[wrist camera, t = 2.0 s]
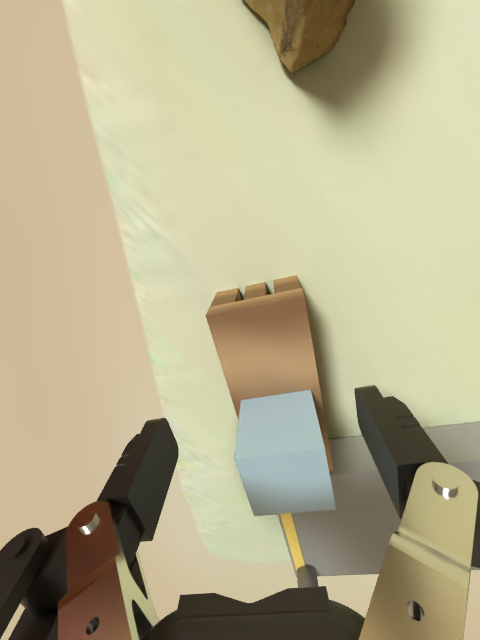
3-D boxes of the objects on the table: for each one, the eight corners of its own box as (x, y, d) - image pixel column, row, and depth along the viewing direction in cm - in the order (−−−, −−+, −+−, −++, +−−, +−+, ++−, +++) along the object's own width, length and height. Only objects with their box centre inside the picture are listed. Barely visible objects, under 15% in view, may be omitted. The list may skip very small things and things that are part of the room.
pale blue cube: (240, 400, 16) (234, 458, 13) (310, 389, 16) (324, 448, 12) (256, 450, 18) (254, 515, 14) (320, 443, 17) (336, 509, 14)
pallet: (217, 291, 18) (205, 315, 14) (295, 274, 17) (304, 295, 14) (258, 432, 22) (256, 478, 19) (321, 424, 22) (333, 470, 18)
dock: (490, 420, 20) (648, 576, 12) (478, 527, 24) (586, 694, 16) (267, 446, 23) (269, 589, 14) (293, 538, 27) (305, 687, 19)
